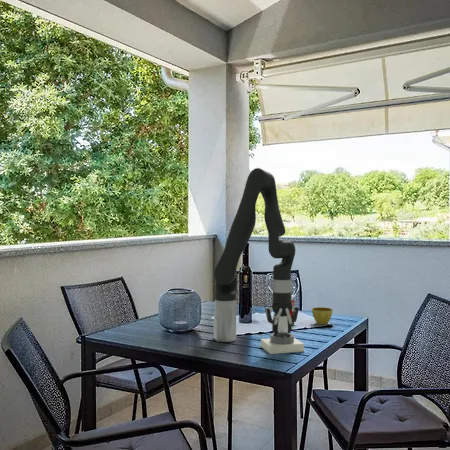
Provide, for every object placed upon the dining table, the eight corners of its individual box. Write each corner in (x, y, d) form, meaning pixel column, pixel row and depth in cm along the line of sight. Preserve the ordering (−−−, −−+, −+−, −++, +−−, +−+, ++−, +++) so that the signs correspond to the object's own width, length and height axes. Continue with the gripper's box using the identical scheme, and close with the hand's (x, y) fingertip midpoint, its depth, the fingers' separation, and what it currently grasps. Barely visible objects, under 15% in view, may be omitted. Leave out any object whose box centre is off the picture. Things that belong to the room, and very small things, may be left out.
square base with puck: (270, 354, 181) (270, 339, 181) (260, 346, 192) (260, 333, 192) (304, 351, 185) (304, 337, 185) (292, 344, 195) (292, 330, 195)
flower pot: (310, 321, 238) (310, 307, 238) (330, 321, 238) (330, 307, 238) (313, 325, 228) (313, 311, 228) (334, 325, 228) (334, 311, 228)
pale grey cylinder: (278, 342, 185) (278, 316, 185) (273, 339, 190) (273, 313, 190) (290, 341, 186) (290, 315, 186) (285, 338, 191) (285, 313, 191)
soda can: (293, 321, 238) (293, 297, 237) (296, 324, 231) (296, 300, 230) (279, 321, 237) (279, 297, 237) (282, 324, 230) (282, 300, 230)
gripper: (268, 292, 182) (268, 336, 183) (302, 291, 186) (302, 334, 186) (261, 289, 190) (261, 332, 190) (294, 288, 193) (294, 329, 194)
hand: (281, 332), depth 188 cm, fingers closed on pale grey cylinder, 5 cm apart
